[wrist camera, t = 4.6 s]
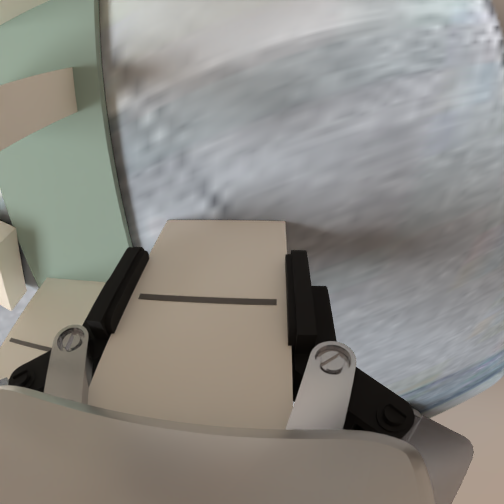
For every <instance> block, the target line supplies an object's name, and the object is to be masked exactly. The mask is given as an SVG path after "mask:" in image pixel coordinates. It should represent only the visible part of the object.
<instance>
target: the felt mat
mask: <svg viewBox="0 0 504 504" xmlns="http://www.w3.org/2000/svg"><path fill="white" fill-rule="evenodd" d="M70 67H72V68H73V78H74V87H75V96H76V103H77V110H78V112H76V113H74V114H72V115H69V116H67V117H65V118H63V119H61V120H59V121H56V122H54V123H52V124H50V125H48V126H46V127H44V128H42V129H40V130H38V131H36V132H34V133H32V134H30V135H28V136H26V137H24V138H23V139H21V140H19V141H17V142H15V143H13V144H12V145H10V146H8V147H6V148H5V149H3V150H1V151H0V190H1V193H2V196H3V199H4V202H5V205H6V208H7V211H8V214H9V217H10V220H11V223H12V225H13V227H15V228H16V231H17V238H18V241H19V244H20V246H21V249H22V251H23V253H24V256H25V258H26V260H27V263H28V265H29V267H30V270H31V272H32V274H33V276H34V278H35V280H36V283H37V285H38V287H39V288H40V286H41V285H42V284H43V282H44V281H45V280H46V278H58V279H71V280H84V281H97V282H107V280H109V278H110V276H111V274H112V273H113V271H114V269H115V268H116V266H117V264H118V263H119V261H120V259H121V258H122V256H123V254H124V253H125V251H126V249H127V248H128V247H133V246H132V242H131V238H130V234H129V229H128V225H127V221H126V216H125V212H124V207H123V203H122V198H121V193H120V188H119V183H118V178H117V173H116V167H115V162H114V156H113V150H112V144H111V138H110V131H109V124H108V117H107V109H106V101H105V93H104V83H103V73H102V61H101V47H100V28H99V0H50V1H47V2H45V3H43V4H41V5H39V6H36V7H34V8H32V9H30V10H28V11H26V12H24V13H22V14H20V15H18V16H16V17H14V18H13V19H11V20H9V21H7V22H5V23H3V24H2V25H0V85H3V84H6V83H9V82H13V81H16V80H20V79H23V78H27V77H31V76H34V75H38V74H42V73H47V72H51V71H56V70H60V69H65V68H70Z"/></svg>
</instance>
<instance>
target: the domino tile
mask: <svg viewBox="0 0 504 504" xmlns="http://www.w3.org/2000/svg"><path fill="white" fill-rule="evenodd" d="M286 254H287V242H286V226H285V221H256V220H167V222H166V224H165V226H164V228H163V230H162V232H161V233H160V235H159V237H158V239H157V241H156V243H155V245H154V247H153V248H152V250H151V252H150V254H149V261H148V263H147V265H146V267H145V269H144V271H143V273H142V275H141V277H140V279H139V281H138V283H137V285H136V287H135V289H134V291H133V294H132V296H131V298H130V300H129V302H128V304H127V306H126V309H125V311H124V313H123V315H122V317H121V320H120V322H119V324H118V326H117V329H116V331H115V333H114V334H111V335H110V338H109V340H108V342H107V345H106V347H105V349H104V352H103V354H102V356H101V359H100V361H99V363H98V366H97V368H96V371H95V373H94V376H93V378H92V381H91V383H90V386H89V391H88V404H87V405H91V406H95V407H100V408H104V409H108V410H113V411H118V412H123V413H128V414H133V415H138V416H144V417H150V418H156V419H162V420H169V421H176V422H184V423H192V424H201V425H211V426H222V427H236V428H254V429H286V426H287V423H288V420H289V417H290V415H291V412H292V409H293V384H292V349H291V346H288V329H287V298H286V273H285V255H286Z"/></svg>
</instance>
